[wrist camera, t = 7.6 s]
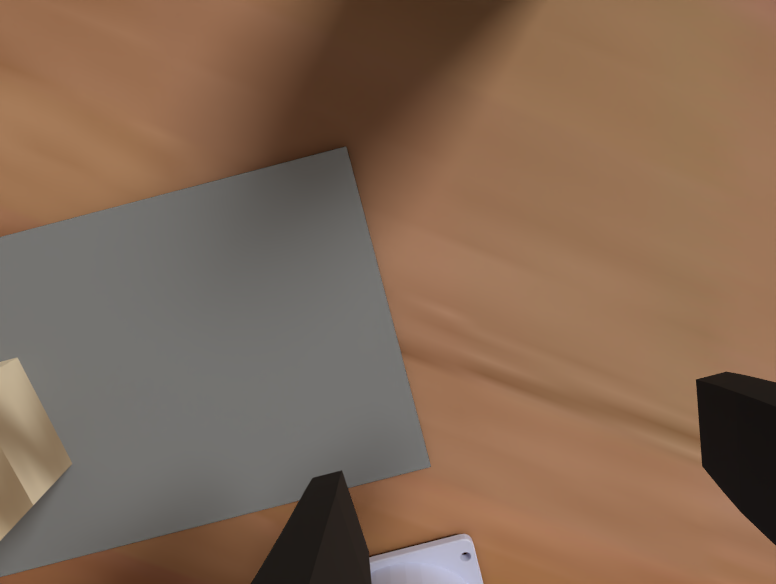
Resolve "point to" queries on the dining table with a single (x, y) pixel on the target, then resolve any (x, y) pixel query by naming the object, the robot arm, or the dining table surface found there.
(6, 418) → the tower lower
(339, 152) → the slate mat
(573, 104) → the dining table surface
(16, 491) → the tower upper
